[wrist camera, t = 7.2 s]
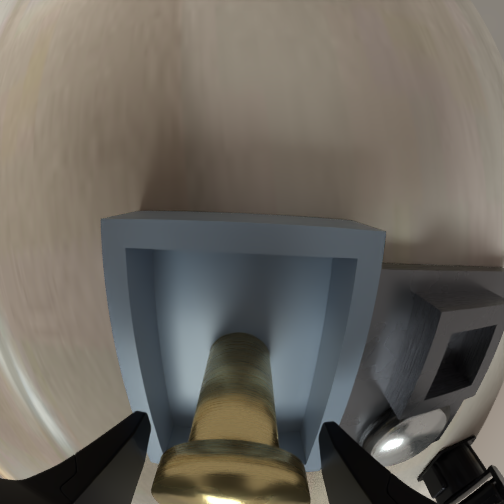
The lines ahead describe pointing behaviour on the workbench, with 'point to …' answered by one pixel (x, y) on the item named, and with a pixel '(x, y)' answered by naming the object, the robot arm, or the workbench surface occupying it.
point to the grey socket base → (423, 355)
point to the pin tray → (240, 311)
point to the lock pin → (233, 437)
